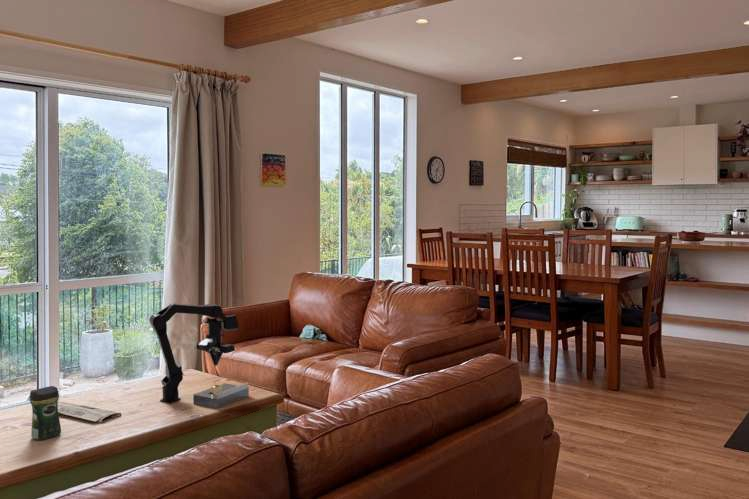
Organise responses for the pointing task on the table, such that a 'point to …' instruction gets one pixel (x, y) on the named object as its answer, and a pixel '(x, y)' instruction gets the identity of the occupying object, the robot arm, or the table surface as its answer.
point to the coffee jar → (45, 413)
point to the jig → (222, 395)
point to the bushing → (216, 389)
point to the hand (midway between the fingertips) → (215, 365)
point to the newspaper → (85, 412)
